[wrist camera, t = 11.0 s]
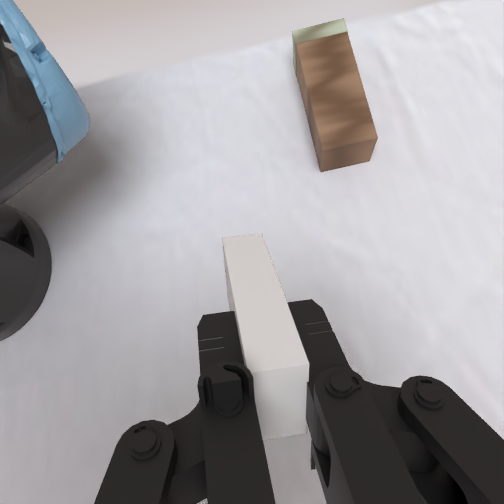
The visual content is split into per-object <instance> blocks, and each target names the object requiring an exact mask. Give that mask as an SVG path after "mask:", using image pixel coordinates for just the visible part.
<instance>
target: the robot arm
mask: <svg viewBox="0 0 504 504" xmlns="http://www.w3.org/2000/svg"><path fill="white" fill-rule="evenodd" d="M89 127H90V118H89V114H88V111H87V109H86V107H85V105H84V103H83V102H82V100H81V98H80V97H79V95H78V93H77V92H76V90H75V88H74V87H73V85H72V84H71V82H70V81H69V79H68V78H67V76H66V75H65V73H64V72H63V70H62V69H61V67H60V66H59V64H58V63H57V62H56V60H55V59H54V57H53V56H52V55H51V54H50V53H49V51H47V50H46V47H45V45H44V43H43V42H42V41H41V39H40V38H39V37H38V35H37V33H36V32H35V30H34V28H33V27H32V26H31V24H30V23H29V21H28V20H27V19H26V17H25V16H24V15H23V13H22V12H21V11H20V9H19V8H18V7H17V5H16V4H15V3H14V1H13V0H0V341H1V340H3V339H5V338H7V337H9V336H10V335H12V334H13V333H15V332H16V331H18V330H19V329H20V328H21V327H22V326H23V325H24V324H25V323H26V322H27V321H28V320H29V319H30V318H31V317H32V316H33V314H34V313H35V312H36V310H37V309H38V307H39V305H40V304H41V302H42V300H43V298H44V295H45V293H46V290H47V287H48V283H49V279H50V273H51V256H50V250H49V246H48V243H47V240H46V238H45V236H44V234H43V232H42V230H41V229H40V227H39V226H38V225H37V224H36V223H35V222H34V221H33V220H32V219H31V218H30V217H29V216H27V215H26V214H24V213H22V212H20V211H18V210H16V209H14V208H12V207H10V206H8V205H5V204H3V203H4V202H5V201H7V200H8V199H9V198H11V197H12V196H14V195H15V194H16V193H18V192H19V191H20V190H22V189H23V188H24V187H26V186H27V185H28V184H30V183H31V182H32V181H34V180H35V179H36V178H38V177H39V176H40V175H42V174H43V173H44V172H46V171H47V170H48V169H50V168H51V167H52V166H54V165H55V164H57V163H59V162H61V161H62V159H63V158H64V155H65V154H66V153H67V152H68V151H70V150H71V149H72V148H73V147H74V146H75V145H76V144H77V143H79V142H80V141H81V140H82V139H83V138H84V137H85V136H86V134H87V133H88V130H89ZM222 242H223V253H224V263H225V273H226V284H227V294H228V301H229V307H230V311H229V312H222V313H215V314H207V315H203V316H202V318H201V320H200V322H199V325H198V327H197V330H198V345H199V360H200V374H201V376H200V377H199V381H198V392H199V398H200V400H199V403H198V404H197V405H196V407H195V408H194V409H193V410H192V411H191V412H190V413H189V414H188V415H186V416H185V417H183V418H181V419H179V420H177V421H175V422H173V423H171V424H169V425H166V424H165V423H164V422H160V421H156V420H149V421H142V422H140V423H138V424H136V425H133V426H132V427H130V428H129V429H128V430H127V431H126V432H125V433H124V434H123V435H122V436H121V438H120V440H119V441H118V443H117V445H116V448H115V451H114V453H113V456H112V458H111V461H110V464H109V466H108V469H107V471H106V474H105V477H104V479H103V482H102V484H101V487H100V490H99V492H98V495H97V497H96V500H95V503H94V504H197V503H199V502H200V501H202V500H204V499H206V498H207V500H208V504H275V499H274V494H273V489H272V484H271V479H270V474H269V469H268V464H267V459H266V454H265V449H264V444H263V441H266V440H271V439H277V438H283V437H289V436H295V435H301V434H307V424H308V427H309V431H310V434H311V437H312V442H311V470H312V469H315V465H316V468H317V471H318V475H319V478H320V482H321V485H322V488H323V492H324V495H325V499H326V502H327V504H504V440H503V439H502V438H501V437H500V436H499V435H498V434H497V433H496V432H495V431H494V430H493V429H492V428H491V427H490V426H489V425H488V424H487V423H486V422H485V421H484V420H483V419H482V418H481V417H480V416H479V415H478V414H477V413H476V412H474V411H473V410H472V409H471V408H470V407H469V406H468V405H467V404H466V403H465V402H464V401H463V400H462V399H461V398H460V397H459V396H458V395H457V394H456V393H455V392H454V391H453V390H452V389H451V388H450V387H448V386H447V385H446V384H444V383H443V382H441V381H440V380H437V379H434V378H432V377H427V376H415V377H410V378H409V379H407V380H406V381H404V382H403V384H402V386H401V388H398V387H390V386H381V385H376V384H372V383H370V382H367V381H365V380H363V378H362V377H361V376H360V375H359V374H357V373H356V372H354V371H353V370H352V369H351V368H350V366H349V364H348V362H347V360H346V358H345V355H344V353H343V351H342V349H341V347H340V345H339V343H338V340H337V338H336V336H335V334H334V332H333V331H332V328H331V325H330V323H329V322H328V319H327V317H326V315H325V313H324V310H323V308H321V307H320V306H319V305H318V304H317V303H315V302H314V301H313V300H312V299H310V300H303V301H295V302H288V303H287V301H286V298H285V295H284V293H283V290H282V287H281V284H280V282H279V279H278V276H277V273H276V271H275V268H274V265H273V262H272V259H271V257H270V254H269V251H268V248H267V246H266V243H265V240H264V237H263V235H262V233H260V234H251V235H243V236H234V237H226V238H222Z"/></svg>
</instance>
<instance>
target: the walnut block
mask: <svg viewBox="0 0 504 504" xmlns="http://www.w3.org/2000/svg"><path fill="white" fill-rule="evenodd" d="M347 32H348V30H347V27H346V24H345V20H344V18H343V19H339V20H335V21H331V22H327V23H323V24H319V25H315V26H311V27H307V28H303V29H299V30H295V31H292V35H293V64H294V69H295V73H296V76H297V79H298V83H299V87H300V91H301V95H302V99H303V103H304V107H305V111H306V115H307V119H308V123H309V127H310V131H311V135H312V139H313V143H314V147H315V151H316V155H317V159H318V163H319V167H320V171H321V172H324V171H328V170H333V169H337V168H342V167H346V166H351V165H355V164H359V163H364V162H368V161H370V158H371V155H372V152H373V150H374V147H375V144H376V141H377V139H378V137H377V133H376V130H375V126H374V123H373V120H372V116H371V113H370V109H369V106H368V102H367V99H366V95H365V92H364V88H363V85H362V81H361V78H360V75H359V71H358V68H357V64H356V61H355V57H354V54H353V50H352V47H351V43H350V40H349V36H348V33H347Z"/></svg>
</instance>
